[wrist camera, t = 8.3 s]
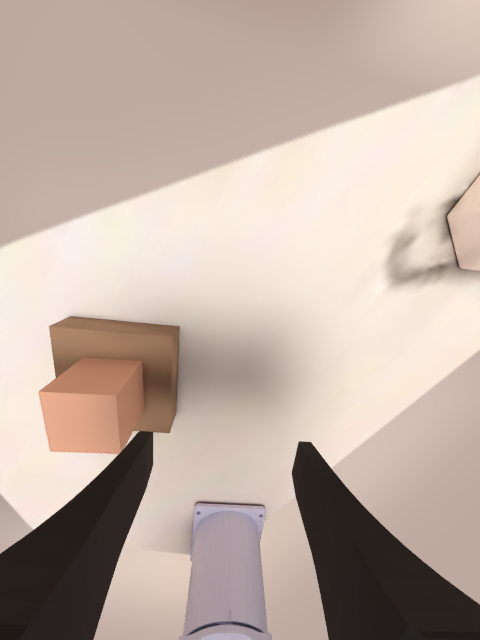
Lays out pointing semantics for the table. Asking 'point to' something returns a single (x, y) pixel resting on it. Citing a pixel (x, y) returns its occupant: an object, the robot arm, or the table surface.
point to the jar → (467, 228)
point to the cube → (93, 406)
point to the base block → (126, 344)
